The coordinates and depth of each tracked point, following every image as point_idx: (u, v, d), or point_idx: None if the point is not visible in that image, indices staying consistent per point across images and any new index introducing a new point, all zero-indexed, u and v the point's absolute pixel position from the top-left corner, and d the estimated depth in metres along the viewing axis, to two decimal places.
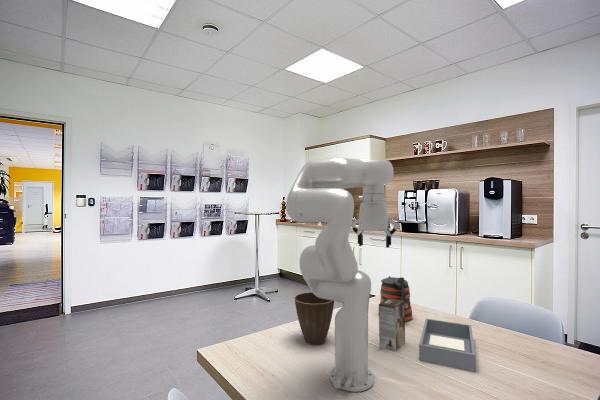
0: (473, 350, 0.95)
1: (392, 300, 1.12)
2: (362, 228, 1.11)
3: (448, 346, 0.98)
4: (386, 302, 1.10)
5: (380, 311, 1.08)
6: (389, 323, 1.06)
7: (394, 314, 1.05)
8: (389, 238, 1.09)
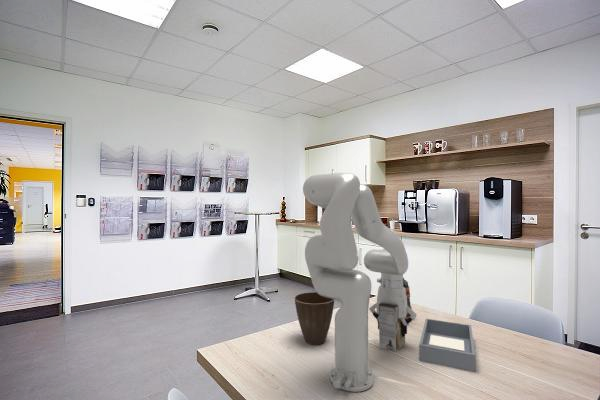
0: (473, 350, 0.95)
1: None
2: None
3: (448, 346, 0.98)
4: None
5: (380, 311, 1.08)
6: (389, 323, 1.06)
7: (394, 314, 1.05)
8: (405, 327, 1.08)
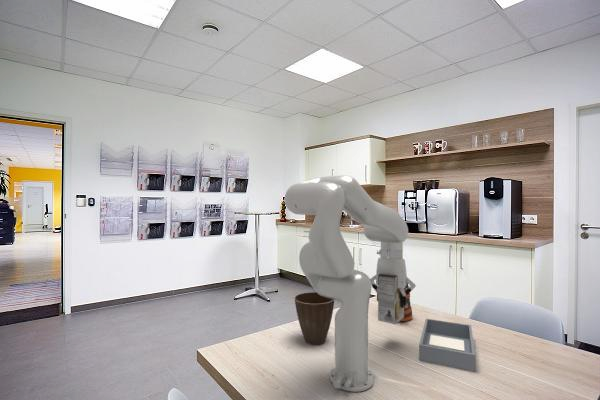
0: (473, 350, 0.95)
1: None
2: None
3: (448, 346, 0.98)
4: None
5: (379, 282, 1.08)
6: (388, 293, 1.06)
7: (393, 284, 1.05)
8: (404, 298, 1.07)
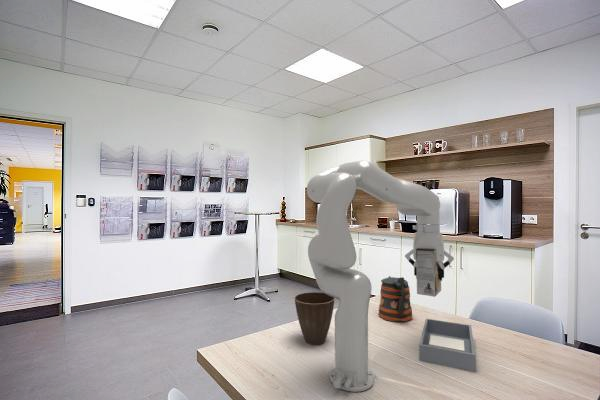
0: (473, 350, 0.95)
1: None
2: None
3: (448, 346, 0.98)
4: None
5: (417, 256, 1.09)
6: (427, 266, 1.07)
7: (433, 257, 1.06)
8: (442, 271, 1.08)
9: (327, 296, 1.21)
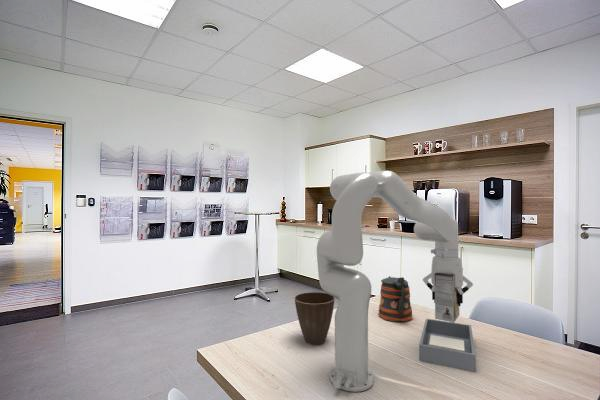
0: (473, 350, 0.95)
1: None
2: None
3: (448, 346, 0.98)
4: None
5: (436, 281, 1.09)
6: (446, 292, 1.07)
7: (452, 282, 1.06)
8: (461, 296, 1.08)
9: (327, 296, 1.21)
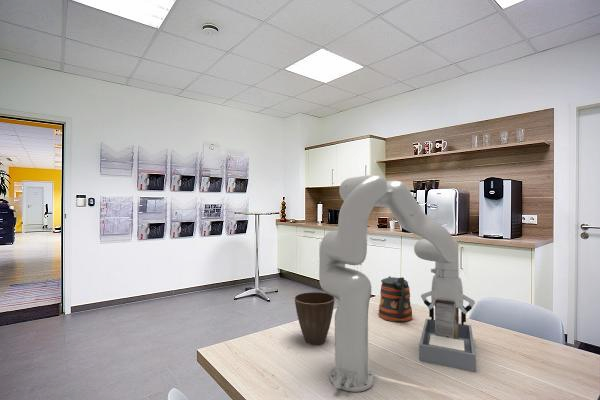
0: (473, 350, 0.95)
1: None
2: None
3: (448, 346, 0.98)
4: None
5: (436, 308, 1.08)
6: (447, 320, 1.06)
7: (452, 311, 1.05)
8: (464, 315, 1.07)
9: (327, 296, 1.21)
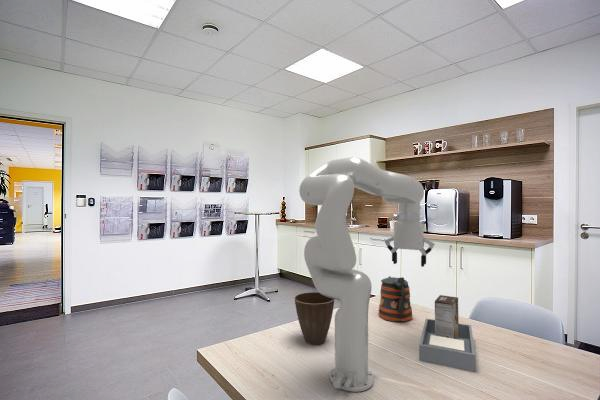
0: (473, 350, 0.95)
1: (446, 297, 1.12)
2: (397, 246, 1.13)
3: (448, 346, 0.98)
4: (441, 299, 1.10)
5: (436, 308, 1.08)
6: (446, 320, 1.06)
7: (452, 311, 1.05)
8: (424, 257, 1.10)
9: None
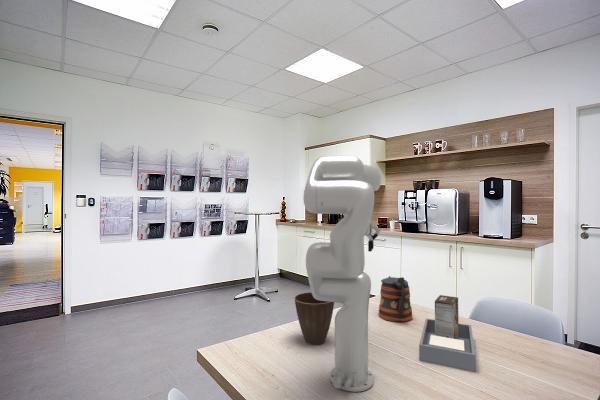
0: (473, 350, 0.95)
1: (446, 297, 1.12)
2: None
3: (448, 346, 0.98)
4: (441, 299, 1.10)
5: (436, 308, 1.08)
6: (446, 320, 1.06)
7: (452, 311, 1.05)
8: (371, 242, 1.15)
9: None
